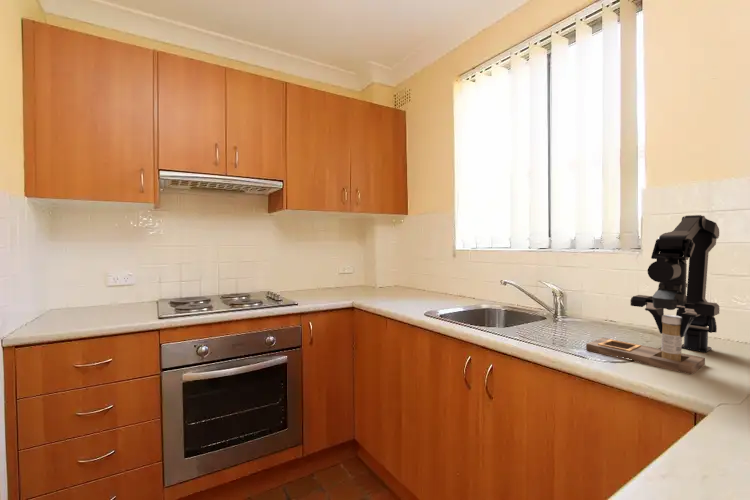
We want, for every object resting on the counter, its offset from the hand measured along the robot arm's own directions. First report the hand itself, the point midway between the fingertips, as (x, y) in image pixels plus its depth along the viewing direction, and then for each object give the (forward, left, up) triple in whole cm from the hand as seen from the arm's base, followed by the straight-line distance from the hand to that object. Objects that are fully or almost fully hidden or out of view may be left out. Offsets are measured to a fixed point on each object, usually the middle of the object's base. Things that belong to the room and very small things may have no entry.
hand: (671, 335), depth 104 cm
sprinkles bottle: (0, 0, -8) cm, 8 cm away
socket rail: (0, -7, -8) cm, 11 cm away
